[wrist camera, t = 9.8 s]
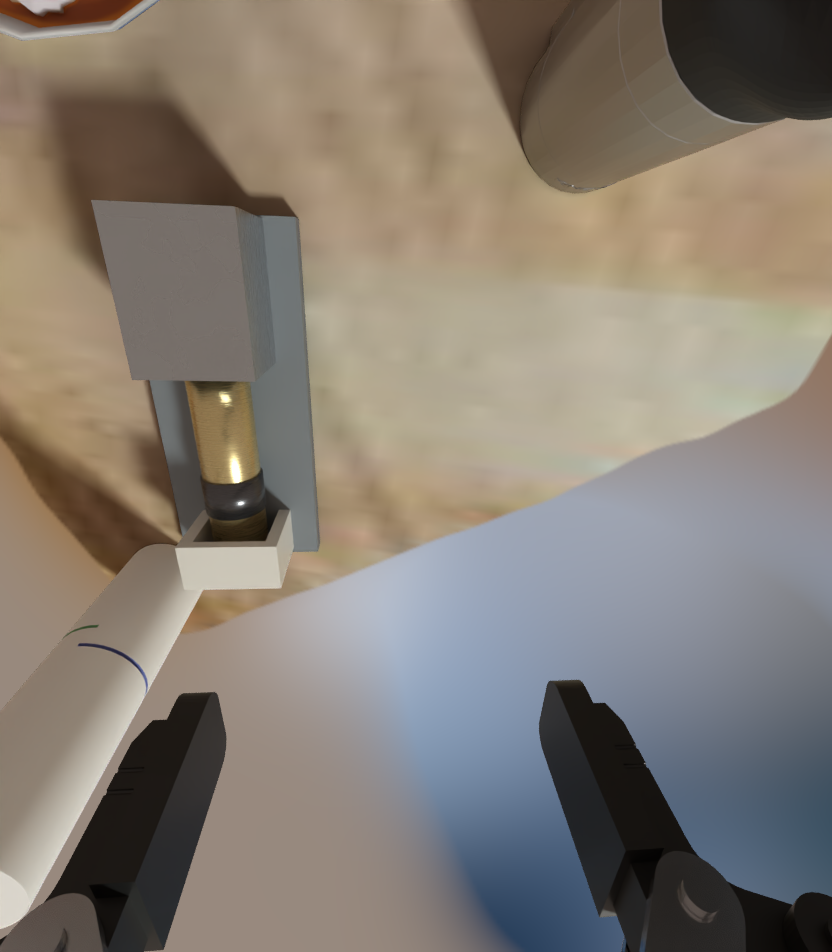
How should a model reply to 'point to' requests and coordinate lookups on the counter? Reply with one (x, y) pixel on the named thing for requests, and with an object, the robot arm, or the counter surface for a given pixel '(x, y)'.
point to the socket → (234, 557)
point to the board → (261, 406)
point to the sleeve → (189, 289)
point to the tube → (229, 459)
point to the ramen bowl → (67, 17)
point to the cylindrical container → (80, 716)
